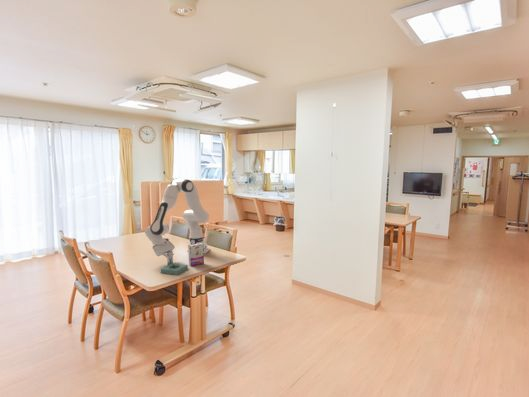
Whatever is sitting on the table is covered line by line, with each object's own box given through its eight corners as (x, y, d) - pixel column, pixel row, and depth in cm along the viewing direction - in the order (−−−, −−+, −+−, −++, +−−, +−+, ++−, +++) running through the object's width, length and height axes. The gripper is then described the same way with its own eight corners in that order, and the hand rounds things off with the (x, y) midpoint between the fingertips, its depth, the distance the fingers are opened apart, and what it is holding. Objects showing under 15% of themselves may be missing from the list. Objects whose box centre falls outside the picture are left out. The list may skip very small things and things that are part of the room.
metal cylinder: (169, 263, 241) (169, 251, 240) (174, 263, 239) (173, 251, 238) (166, 264, 236) (165, 252, 235) (170, 265, 235) (170, 252, 234)
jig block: (171, 266, 232) (171, 263, 231) (187, 268, 228) (187, 264, 227) (160, 272, 218) (160, 268, 218) (177, 274, 214) (177, 270, 214)
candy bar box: (201, 262, 243) (201, 242, 241) (204, 264, 239) (203, 244, 237) (188, 264, 237) (187, 244, 235) (190, 266, 232) (190, 246, 231)
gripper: (153, 244, 228) (165, 257, 226) (169, 238, 248) (180, 250, 246) (149, 249, 230) (160, 262, 228) (165, 242, 249) (175, 255, 248)
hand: (170, 256), depth 237 cm, fingers closed on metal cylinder, 4 cm apart
